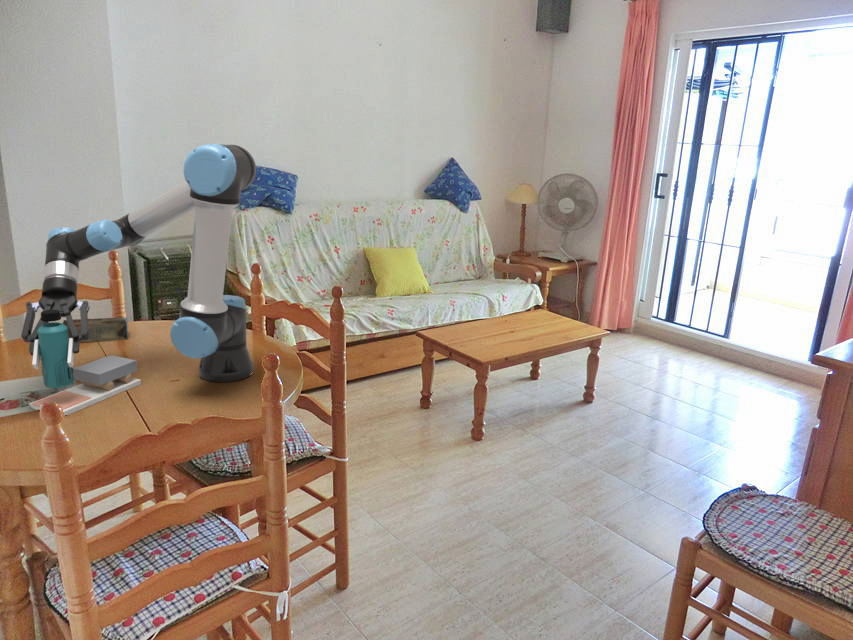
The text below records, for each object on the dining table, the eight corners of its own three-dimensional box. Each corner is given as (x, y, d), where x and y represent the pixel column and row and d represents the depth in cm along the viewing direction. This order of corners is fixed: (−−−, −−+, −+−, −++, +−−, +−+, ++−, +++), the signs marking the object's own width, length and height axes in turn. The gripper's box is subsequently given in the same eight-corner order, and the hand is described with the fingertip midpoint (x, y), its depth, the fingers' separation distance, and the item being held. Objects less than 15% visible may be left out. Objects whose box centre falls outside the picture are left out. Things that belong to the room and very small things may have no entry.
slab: (137, 370, 167) (136, 360, 166) (100, 385, 156) (99, 374, 155) (111, 365, 170) (111, 355, 169) (73, 379, 159) (72, 368, 158)
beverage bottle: (73, 393, 149) (64, 313, 143) (41, 395, 146) (31, 315, 141) (76, 383, 154) (68, 306, 149) (46, 385, 152) (37, 307, 147)
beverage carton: (128, 340, 202) (127, 321, 200) (61, 345, 194) (59, 325, 192) (128, 333, 209) (127, 314, 207) (64, 338, 201) (61, 318, 199)
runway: (141, 383, 167) (140, 371, 166) (62, 417, 146) (60, 403, 145) (110, 376, 171) (109, 364, 170) (29, 408, 149) (27, 394, 148)
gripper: (105, 290, 162) (101, 369, 151) (20, 291, 155) (9, 375, 145) (100, 274, 155) (96, 356, 145) (11, 275, 149) (0, 361, 139)
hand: (53, 365), depth 145 cm, fingers closed on beverage bottle, 6 cm apart
